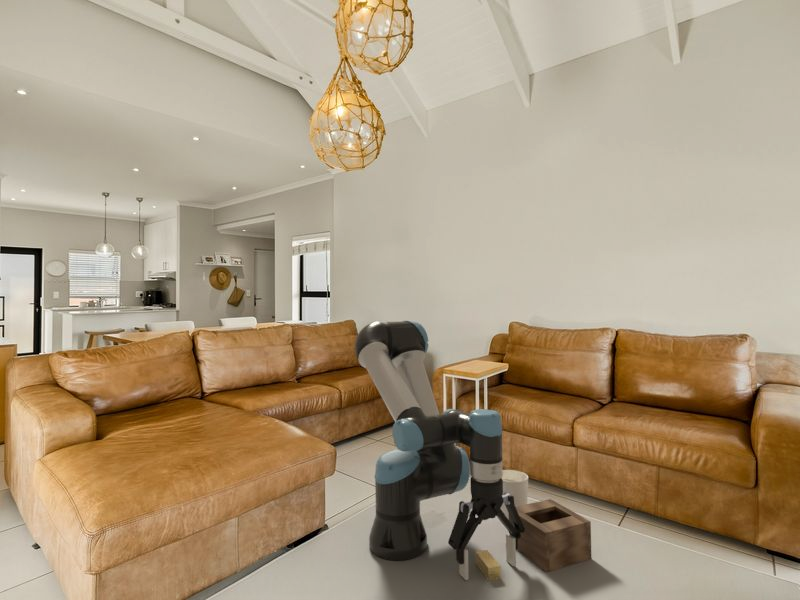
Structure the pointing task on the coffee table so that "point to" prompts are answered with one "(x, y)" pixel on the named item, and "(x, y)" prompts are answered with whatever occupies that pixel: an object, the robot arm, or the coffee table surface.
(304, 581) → the coffee table surface
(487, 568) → the yellow rectangular block
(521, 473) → the candle holder
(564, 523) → the box
